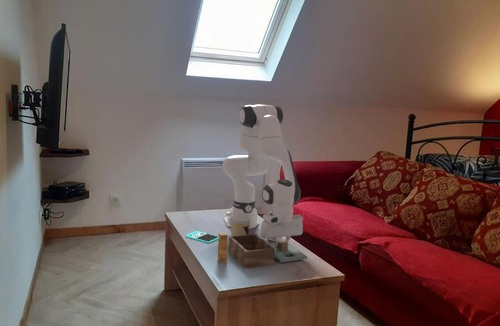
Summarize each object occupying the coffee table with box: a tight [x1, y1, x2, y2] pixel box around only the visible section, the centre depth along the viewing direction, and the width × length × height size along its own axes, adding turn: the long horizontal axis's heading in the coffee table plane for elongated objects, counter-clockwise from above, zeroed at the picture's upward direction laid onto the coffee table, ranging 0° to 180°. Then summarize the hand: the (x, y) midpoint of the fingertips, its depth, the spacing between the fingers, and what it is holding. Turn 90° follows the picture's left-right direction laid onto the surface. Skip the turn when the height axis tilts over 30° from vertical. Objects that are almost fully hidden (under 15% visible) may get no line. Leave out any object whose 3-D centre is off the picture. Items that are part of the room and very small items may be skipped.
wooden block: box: [217, 232, 229, 264], centre depth 172 cm, size 3×3×13 cm
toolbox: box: [227, 233, 275, 269], centre depth 178 cm, size 20×13×8 cm, turn 24°
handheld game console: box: [186, 230, 219, 245], centre depth 204 cm, size 10×16×1 cm, turn 57°
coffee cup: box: [230, 216, 250, 236], centre depth 199 cm, size 9×9×12 cm
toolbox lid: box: [267, 238, 308, 263], centre depth 184 cm, size 20×13×5 cm, turn 24°
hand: (281, 245), depth 186 cm, fingers closed on toolbox lid, 3 cm apart
